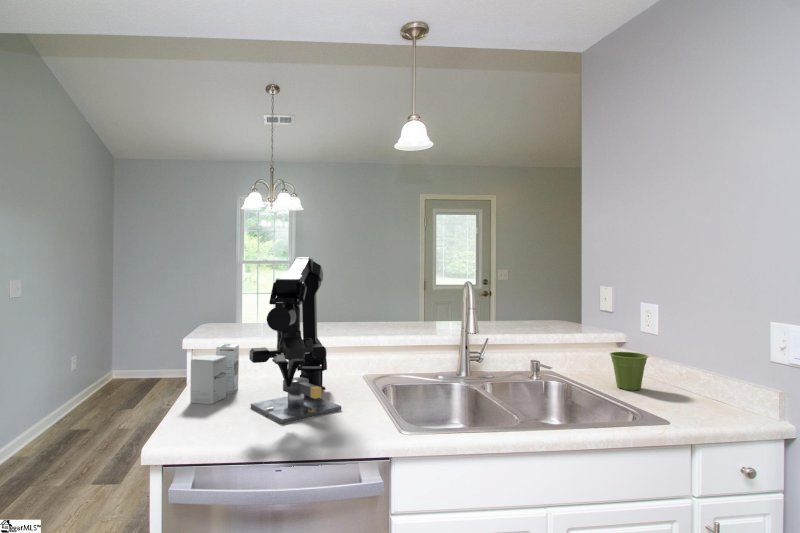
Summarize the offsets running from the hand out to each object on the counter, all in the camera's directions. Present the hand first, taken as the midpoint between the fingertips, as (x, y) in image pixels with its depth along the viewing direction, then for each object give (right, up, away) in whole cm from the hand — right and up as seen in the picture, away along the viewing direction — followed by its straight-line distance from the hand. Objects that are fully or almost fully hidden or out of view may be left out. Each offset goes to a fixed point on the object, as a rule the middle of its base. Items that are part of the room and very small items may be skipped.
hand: (288, 386), depth 126 cm
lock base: (0, -9, +10) cm, 13 cm away
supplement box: (-27, -9, +17) cm, 34 cm away
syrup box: (-25, -9, +27) cm, 38 cm away
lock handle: (+3, -3, +7) cm, 8 cm away
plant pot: (+105, -10, +37) cm, 111 cm away
